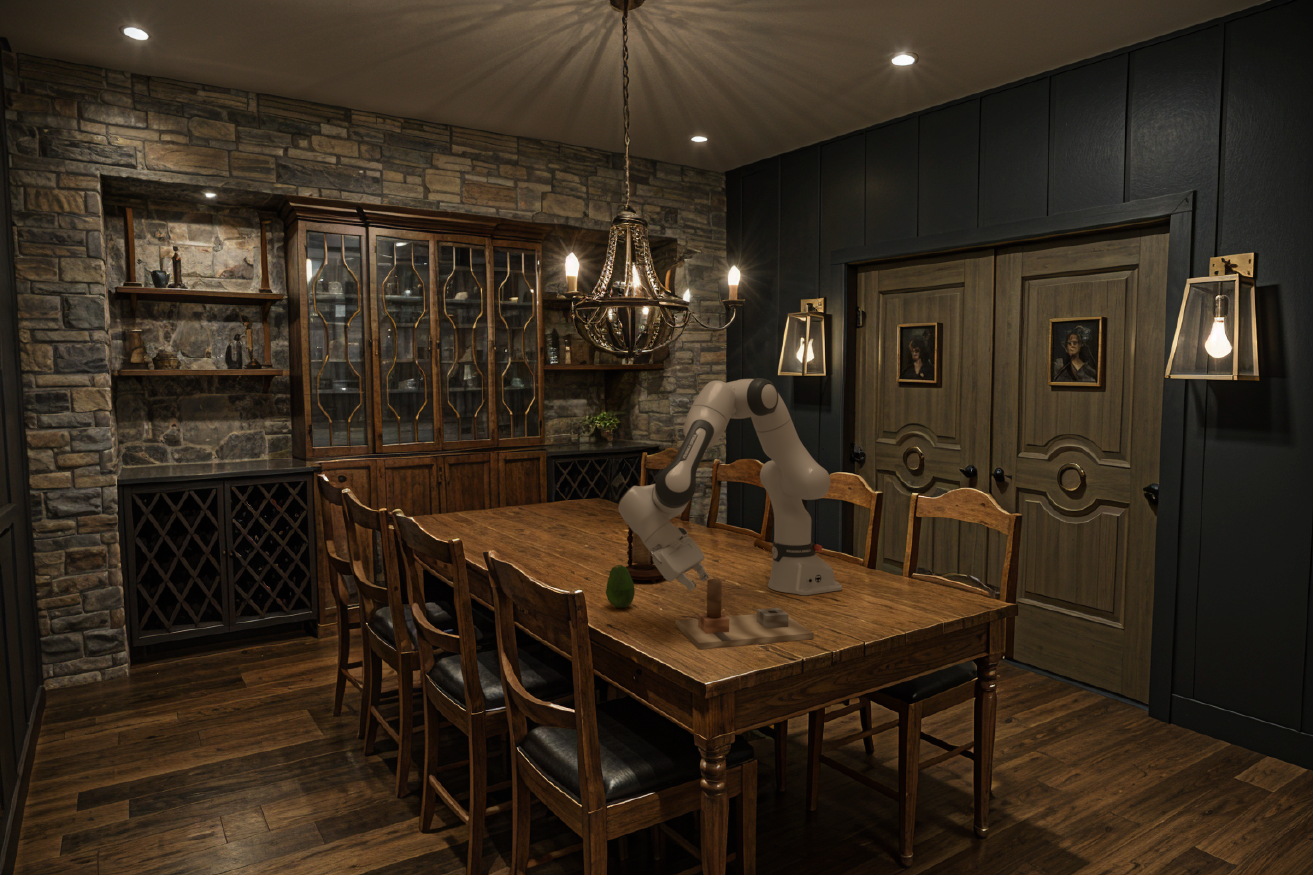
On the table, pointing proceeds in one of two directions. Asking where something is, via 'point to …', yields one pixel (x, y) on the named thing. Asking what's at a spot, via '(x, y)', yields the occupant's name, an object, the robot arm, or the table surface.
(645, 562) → the scroll
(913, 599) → the table surface
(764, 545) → the primitive tool
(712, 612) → the brown wooden peg
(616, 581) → the avocado
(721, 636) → the subfloor panel
